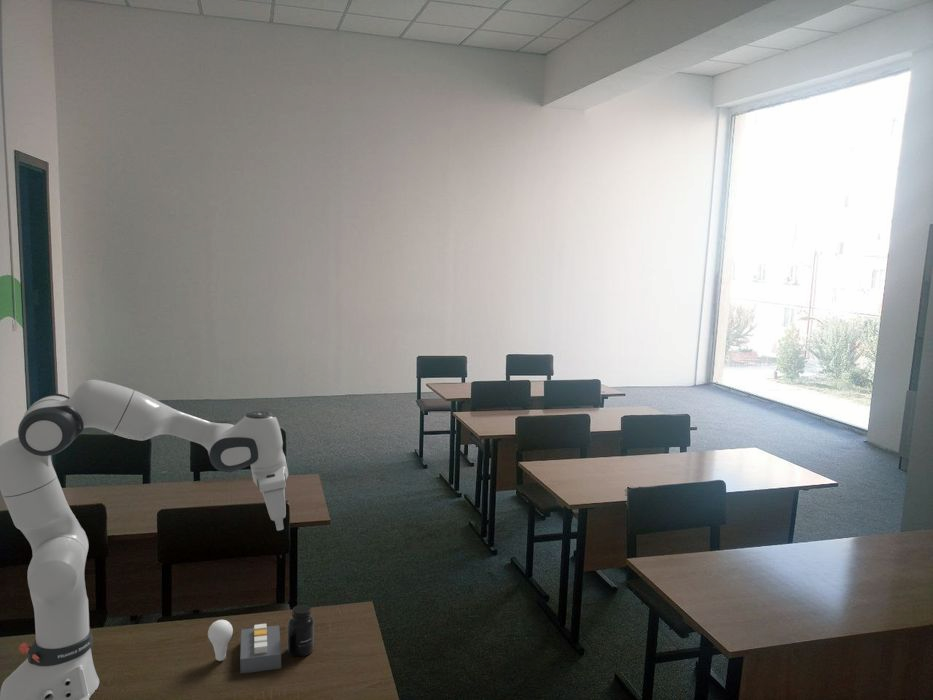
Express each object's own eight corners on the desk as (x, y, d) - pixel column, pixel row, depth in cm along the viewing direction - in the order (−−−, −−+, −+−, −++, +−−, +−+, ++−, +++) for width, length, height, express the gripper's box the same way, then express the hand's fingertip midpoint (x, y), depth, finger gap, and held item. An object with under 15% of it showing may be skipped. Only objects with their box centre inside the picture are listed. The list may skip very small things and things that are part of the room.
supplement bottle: (306, 660, 184) (306, 617, 183) (282, 655, 186) (282, 613, 184) (318, 645, 191) (318, 605, 189) (295, 641, 193) (295, 600, 191)
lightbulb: (225, 669, 179) (224, 629, 177) (203, 665, 180) (202, 625, 179) (237, 655, 185) (237, 617, 183) (216, 651, 186) (216, 613, 185)
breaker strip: (281, 668, 180) (281, 647, 180) (240, 673, 178) (240, 652, 177) (278, 624, 201) (278, 605, 200) (241, 628, 198) (241, 609, 197)
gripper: (255, 462, 188) (264, 509, 191) (259, 489, 169) (269, 541, 172) (279, 457, 190) (287, 504, 193) (285, 483, 171) (294, 534, 174)
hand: (278, 521), depth 182 cm, fingers open, 8 cm apart
